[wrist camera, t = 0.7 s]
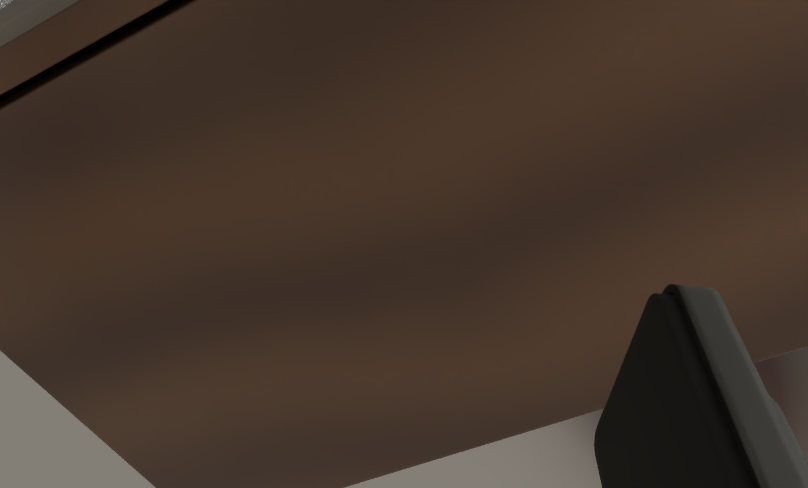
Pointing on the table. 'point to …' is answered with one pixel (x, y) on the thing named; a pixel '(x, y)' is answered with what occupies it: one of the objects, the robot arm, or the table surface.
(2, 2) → the table surface
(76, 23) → the cabinet door
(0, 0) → the table surface
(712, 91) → the cabinet
